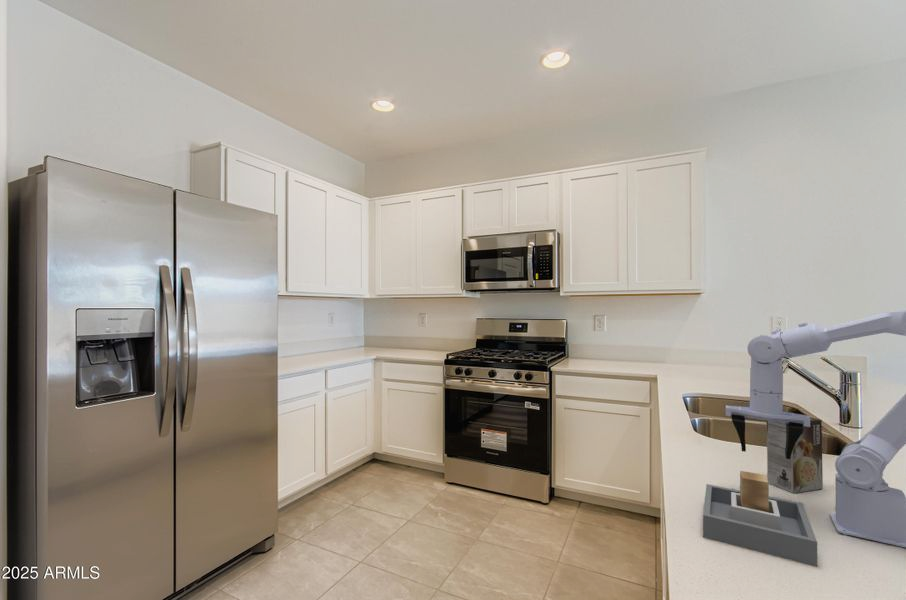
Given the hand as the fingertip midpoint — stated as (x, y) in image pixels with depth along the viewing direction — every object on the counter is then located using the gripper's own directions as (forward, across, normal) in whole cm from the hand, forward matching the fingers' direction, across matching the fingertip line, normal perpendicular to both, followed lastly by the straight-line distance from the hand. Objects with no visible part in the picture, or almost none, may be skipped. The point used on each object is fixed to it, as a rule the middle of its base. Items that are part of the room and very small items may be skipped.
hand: (765, 453), depth 91 cm
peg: (+9, +2, +15) cm, 18 cm away
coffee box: (+11, -6, -14) cm, 19 cm away
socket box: (+10, +2, +15) cm, 19 cm away
